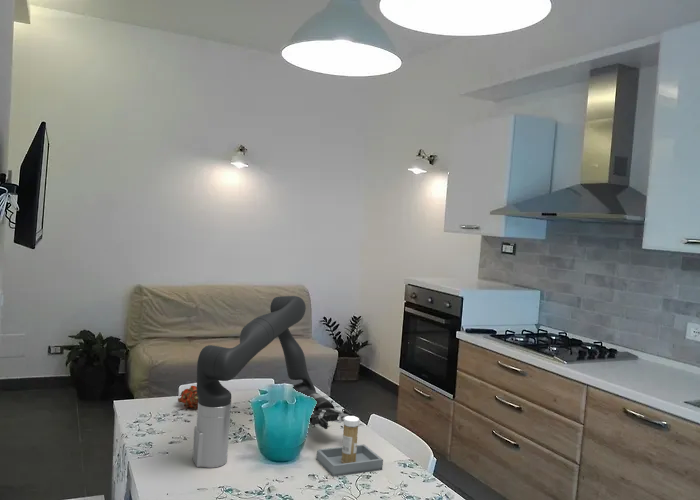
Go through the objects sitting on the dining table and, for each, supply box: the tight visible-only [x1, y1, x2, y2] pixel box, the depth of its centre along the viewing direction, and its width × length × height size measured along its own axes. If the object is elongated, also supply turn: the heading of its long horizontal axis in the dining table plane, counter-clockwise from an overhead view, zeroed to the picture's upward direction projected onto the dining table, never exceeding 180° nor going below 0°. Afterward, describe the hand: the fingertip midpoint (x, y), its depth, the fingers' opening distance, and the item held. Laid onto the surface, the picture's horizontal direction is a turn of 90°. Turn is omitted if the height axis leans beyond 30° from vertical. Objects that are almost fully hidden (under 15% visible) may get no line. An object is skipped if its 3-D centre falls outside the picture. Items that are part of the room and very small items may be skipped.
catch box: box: [315, 444, 384, 477], centre depth 172 cm, size 16×12×3 cm
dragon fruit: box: [177, 385, 198, 410], centre depth 212 cm, size 8×8×12 cm
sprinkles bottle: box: [341, 415, 360, 463], centre depth 172 cm, size 5×5×13 cm
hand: (339, 424), depth 179 cm, fingers open, 8 cm apart
